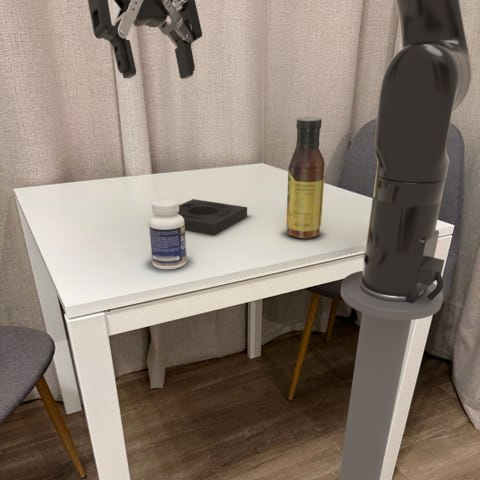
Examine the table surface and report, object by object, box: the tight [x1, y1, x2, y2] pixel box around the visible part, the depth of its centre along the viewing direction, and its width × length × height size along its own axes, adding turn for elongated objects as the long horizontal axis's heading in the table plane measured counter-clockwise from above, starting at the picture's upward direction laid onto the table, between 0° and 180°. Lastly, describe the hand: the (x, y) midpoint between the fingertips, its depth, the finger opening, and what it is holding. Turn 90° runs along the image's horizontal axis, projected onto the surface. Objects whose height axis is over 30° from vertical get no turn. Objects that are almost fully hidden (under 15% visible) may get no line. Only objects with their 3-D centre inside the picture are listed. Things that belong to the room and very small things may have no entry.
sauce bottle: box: [285, 116, 326, 240], centre depth 83 cm, size 7×6×20 cm
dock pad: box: [178, 198, 248, 236], centre depth 95 cm, size 13×13×2 cm
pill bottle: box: [148, 198, 187, 270], centre depth 73 cm, size 5×5×10 cm
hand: (160, 76), depth 61 cm, fingers open, 8 cm apart
